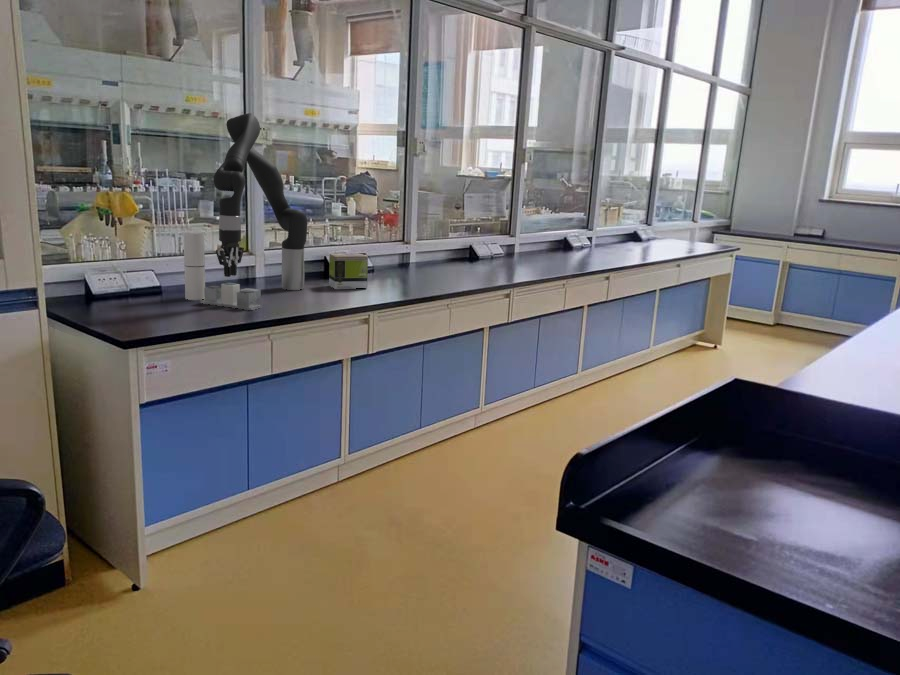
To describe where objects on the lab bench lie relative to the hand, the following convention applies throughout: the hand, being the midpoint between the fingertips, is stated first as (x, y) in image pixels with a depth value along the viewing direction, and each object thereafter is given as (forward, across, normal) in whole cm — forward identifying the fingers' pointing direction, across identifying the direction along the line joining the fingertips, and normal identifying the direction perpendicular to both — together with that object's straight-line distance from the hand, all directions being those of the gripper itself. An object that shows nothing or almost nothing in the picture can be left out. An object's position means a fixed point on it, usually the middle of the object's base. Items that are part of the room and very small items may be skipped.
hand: (230, 275), depth 250 cm
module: (+10, 0, 0) cm, 10 cm away
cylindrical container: (+11, -3, -18) cm, 21 cm away
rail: (+11, 0, 0) cm, 11 cm away
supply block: (+11, -16, -3) cm, 20 cm away
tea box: (+11, -62, +16) cm, 65 cm away
